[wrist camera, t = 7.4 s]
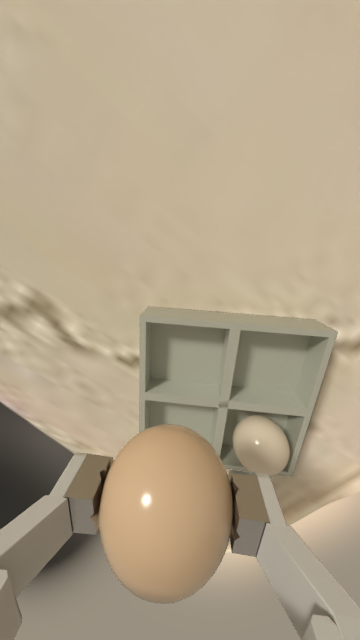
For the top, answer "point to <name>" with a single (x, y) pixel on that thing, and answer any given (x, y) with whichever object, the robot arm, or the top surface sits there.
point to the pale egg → (261, 445)
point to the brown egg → (166, 513)
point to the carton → (231, 373)
